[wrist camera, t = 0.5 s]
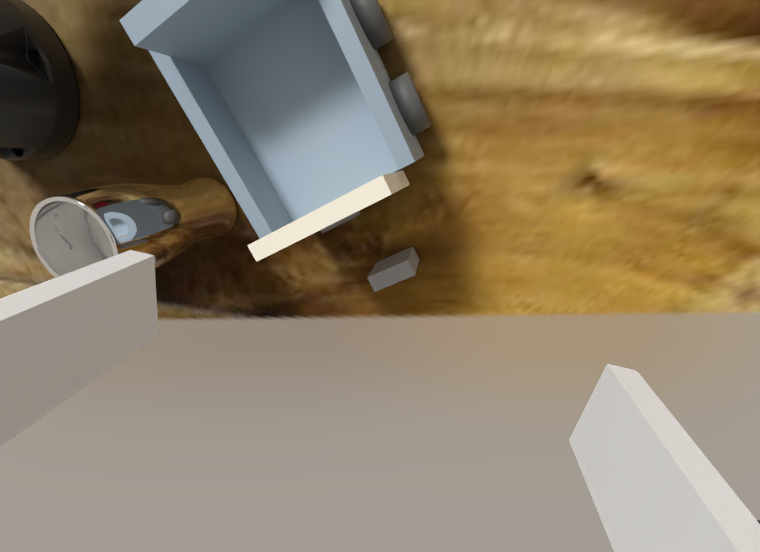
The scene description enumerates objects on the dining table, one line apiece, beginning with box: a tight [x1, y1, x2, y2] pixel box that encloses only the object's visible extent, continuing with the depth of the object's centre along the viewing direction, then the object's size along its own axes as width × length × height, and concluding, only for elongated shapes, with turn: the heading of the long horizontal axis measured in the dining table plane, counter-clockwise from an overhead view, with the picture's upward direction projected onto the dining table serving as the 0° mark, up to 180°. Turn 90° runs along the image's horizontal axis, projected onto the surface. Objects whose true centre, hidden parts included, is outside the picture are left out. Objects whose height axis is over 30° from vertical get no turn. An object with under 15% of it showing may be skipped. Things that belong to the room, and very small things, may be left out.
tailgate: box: [247, 170, 410, 262], centre depth 27 cm, size 2×10×8 cm, turn 117°
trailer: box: [119, 0, 431, 292], centre depth 29 cm, size 24×16×12 cm
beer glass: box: [29, 177, 237, 278], centre depth 31 cm, size 7×7×15 cm
